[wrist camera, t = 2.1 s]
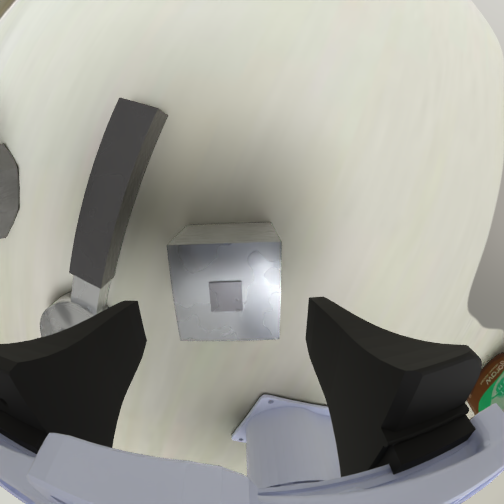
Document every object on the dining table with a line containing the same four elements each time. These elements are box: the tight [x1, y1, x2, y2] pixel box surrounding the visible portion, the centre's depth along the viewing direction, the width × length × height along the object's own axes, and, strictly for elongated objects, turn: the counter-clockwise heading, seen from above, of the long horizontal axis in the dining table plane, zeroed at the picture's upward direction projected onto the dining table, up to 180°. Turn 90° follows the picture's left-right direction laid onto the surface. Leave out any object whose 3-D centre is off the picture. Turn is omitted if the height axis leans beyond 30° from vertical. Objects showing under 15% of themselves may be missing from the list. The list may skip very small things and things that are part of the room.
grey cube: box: [167, 222, 281, 341], centre depth 16 cm, size 5×5×5 cm
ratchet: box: [40, 98, 168, 337], centre depth 15 cm, size 8×22×5 cm, turn 156°
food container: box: [467, 353, 504, 415], centre depth 19 cm, size 12×6×10 cm, turn 138°
